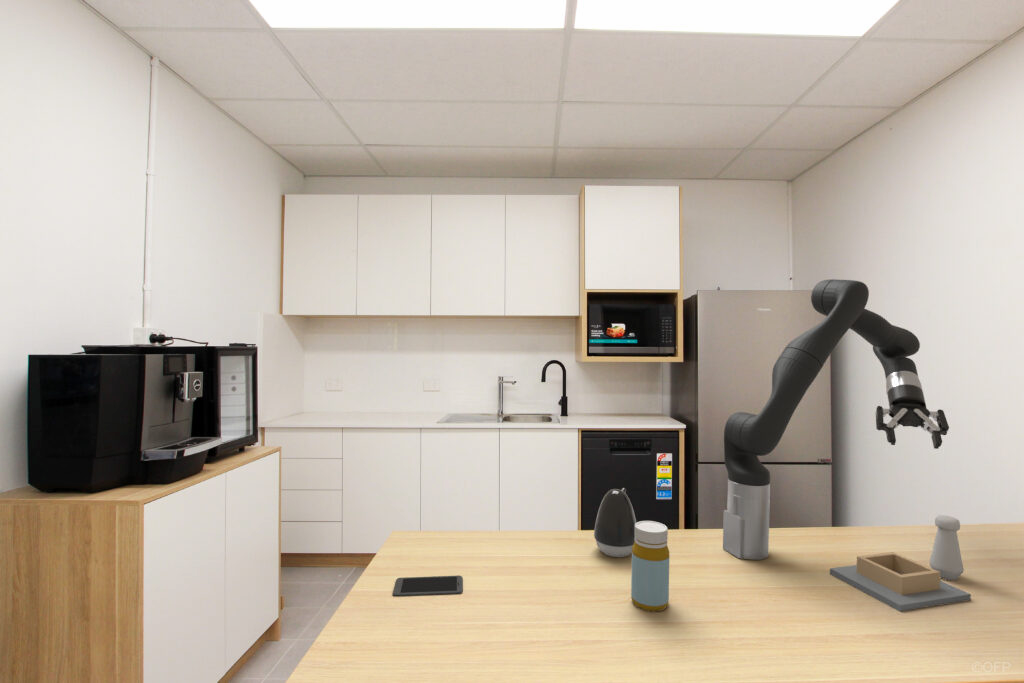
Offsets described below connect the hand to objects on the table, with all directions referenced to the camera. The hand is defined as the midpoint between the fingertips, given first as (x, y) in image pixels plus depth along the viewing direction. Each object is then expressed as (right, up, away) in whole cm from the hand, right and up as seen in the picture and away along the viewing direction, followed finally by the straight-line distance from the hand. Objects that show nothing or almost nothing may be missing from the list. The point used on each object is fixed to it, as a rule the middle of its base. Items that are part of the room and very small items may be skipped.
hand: (915, 445), depth 128 cm
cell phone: (-114, -26, -19) cm, 119 cm away
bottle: (-70, -26, -25) cm, 79 cm away
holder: (-17, -26, -17) cm, 35 cm away
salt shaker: (-2, -27, -12) cm, 29 cm away
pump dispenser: (-72, -25, -2) cm, 77 cm away
